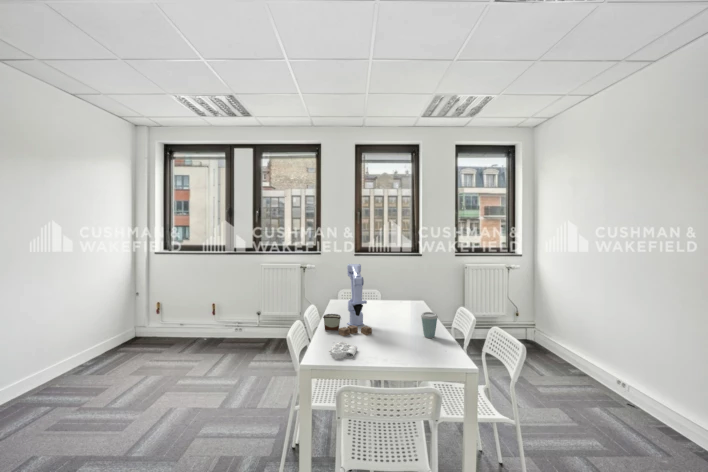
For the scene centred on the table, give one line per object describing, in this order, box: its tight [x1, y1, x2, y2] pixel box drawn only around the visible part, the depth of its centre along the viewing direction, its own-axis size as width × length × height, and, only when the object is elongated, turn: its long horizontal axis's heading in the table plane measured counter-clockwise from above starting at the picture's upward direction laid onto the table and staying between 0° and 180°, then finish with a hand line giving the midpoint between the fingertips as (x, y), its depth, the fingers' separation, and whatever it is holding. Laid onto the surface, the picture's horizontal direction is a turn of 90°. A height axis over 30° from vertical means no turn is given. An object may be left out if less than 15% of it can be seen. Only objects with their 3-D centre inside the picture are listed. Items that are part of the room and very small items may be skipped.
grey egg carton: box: [328, 341, 358, 360], centre depth 187 cm, size 3×18×15 cm
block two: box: [338, 326, 350, 337], centre depth 218 cm, size 5×5×4 cm
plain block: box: [346, 325, 359, 335], centre depth 223 cm, size 5×5×4 cm
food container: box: [322, 313, 342, 332], centre depth 228 cm, size 12×6×10 cm, turn 84°
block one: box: [360, 325, 373, 336], centre depth 222 cm, size 5×5×4 cm
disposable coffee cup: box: [420, 311, 438, 339], centre depth 218 cm, size 11×11×15 cm
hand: (357, 315), depth 226 cm, fingers closed
